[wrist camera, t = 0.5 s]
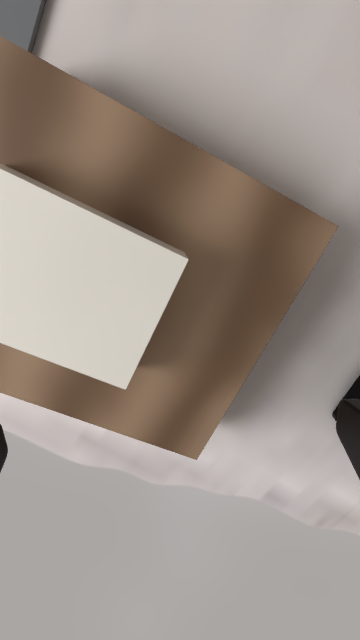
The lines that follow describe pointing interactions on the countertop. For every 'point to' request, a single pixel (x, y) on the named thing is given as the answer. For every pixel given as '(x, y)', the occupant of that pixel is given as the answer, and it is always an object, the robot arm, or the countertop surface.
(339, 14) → the countertop surface
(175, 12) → the countertop surface
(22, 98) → the brown flat block
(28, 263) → the tile
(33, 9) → the mat
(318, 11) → the countertop surface
